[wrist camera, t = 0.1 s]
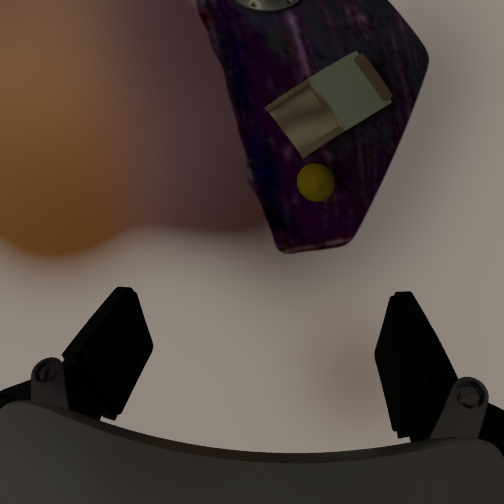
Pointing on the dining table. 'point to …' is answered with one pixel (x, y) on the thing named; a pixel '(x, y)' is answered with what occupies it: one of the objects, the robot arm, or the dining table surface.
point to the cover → (352, 89)
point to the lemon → (315, 182)
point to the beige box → (305, 118)
